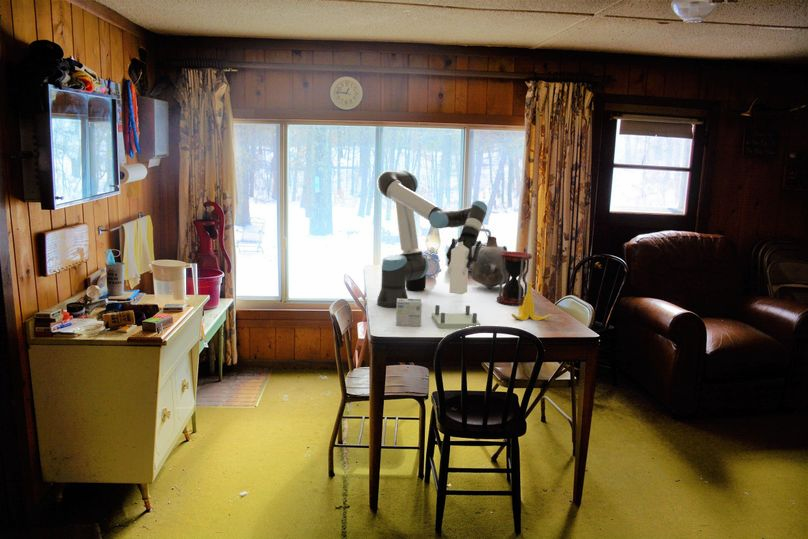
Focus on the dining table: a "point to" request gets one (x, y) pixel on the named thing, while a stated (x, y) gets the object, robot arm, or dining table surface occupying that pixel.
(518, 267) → the hourglass
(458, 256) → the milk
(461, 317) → the peg board
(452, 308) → the dining table surface
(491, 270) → the jug
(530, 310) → the banana peel
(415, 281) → the coffee jar
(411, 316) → the light bulb box
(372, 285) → the dining table surface
